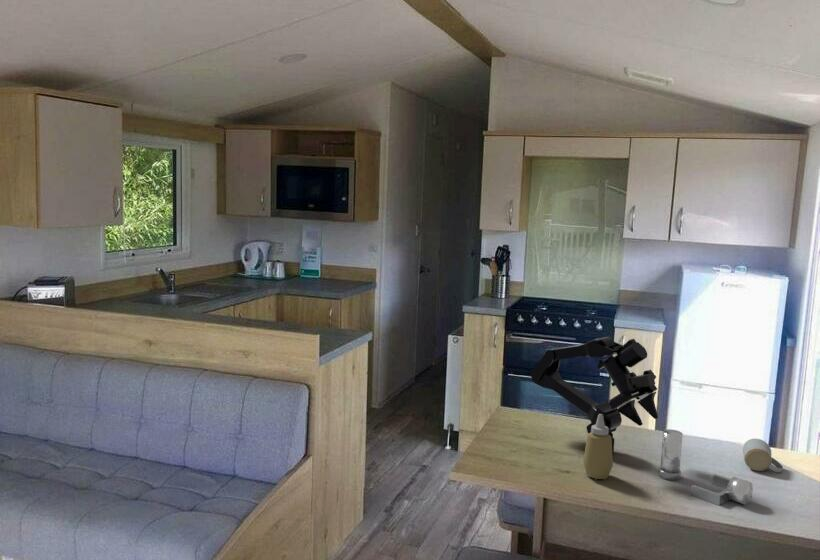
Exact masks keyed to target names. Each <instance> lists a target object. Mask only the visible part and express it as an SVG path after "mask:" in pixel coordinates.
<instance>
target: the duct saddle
mask: <svg viewBox="0 0 820 560" xmlns="http://www.w3.org/2000/svg"><path fill="white" fill-rule="evenodd" d="M712 484H713V485H715V486H718V487H721V488H724V489H723V490H722V491H719V492H715V491H712V490H710V489H706V488H704V487H702V486H698V485H695V484H693V485H691V487H690V488H691V489H690V495H691V496H693V497H695V498H698V499H701V500H703V501H706V502H709V503H711V504H714V505H717V506H721V505H722V504H725V503H726V502H728V501H730V500H731V501H733V502H735V503H738V504H742V505H744V506H746V505H747V504H748V503H750V501H751V499H752V495H753V491H754V490H753V489H754V488H753V486H754V485H753V483H752V482H751V481H749V480H746V479H743V478H740V477H736V476H732V477H731V478H728V477H725V476H723V475H719V474H716V473H715V474H713V475H712Z"/></svg>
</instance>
